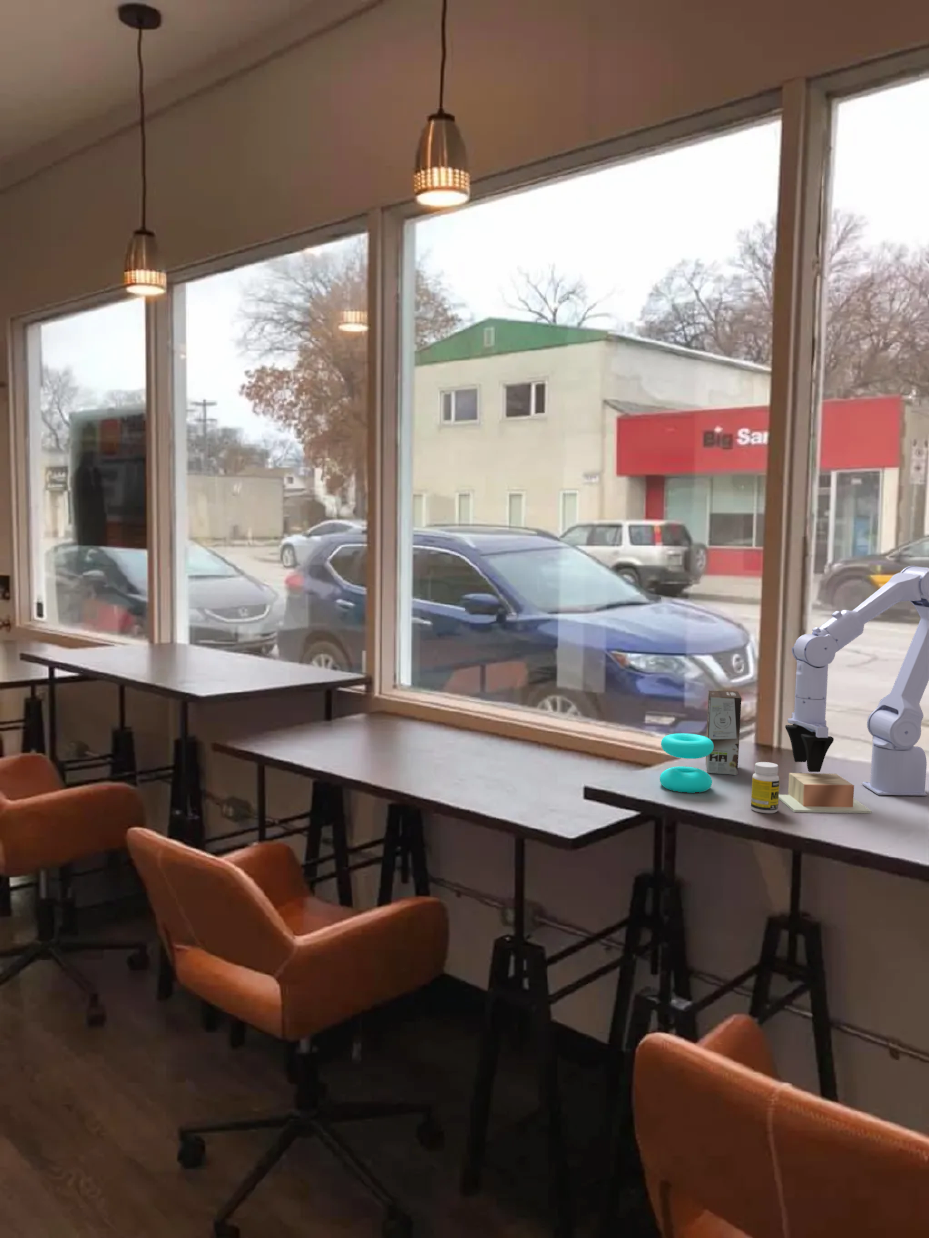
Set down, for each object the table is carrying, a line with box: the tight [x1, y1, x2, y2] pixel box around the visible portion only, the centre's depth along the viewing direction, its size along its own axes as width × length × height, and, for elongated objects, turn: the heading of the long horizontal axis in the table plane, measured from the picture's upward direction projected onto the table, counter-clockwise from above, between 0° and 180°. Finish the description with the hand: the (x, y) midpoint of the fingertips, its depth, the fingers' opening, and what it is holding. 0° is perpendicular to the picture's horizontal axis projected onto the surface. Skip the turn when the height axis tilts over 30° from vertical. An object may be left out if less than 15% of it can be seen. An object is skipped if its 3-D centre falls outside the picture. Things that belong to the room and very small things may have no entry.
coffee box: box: [705, 690, 742, 776], centre depth 208 cm, size 9×6×16 cm
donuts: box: [659, 732, 714, 794], centre depth 193 cm, size 10×10×10 cm
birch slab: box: [787, 772, 855, 807], centre depth 185 cm, size 9×4×8 cm
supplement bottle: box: [750, 761, 780, 814], centre depth 179 cm, size 5×5×8 cm
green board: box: [778, 794, 873, 814], centre depth 183 cm, size 14×10×1 cm
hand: (806, 766), depth 192 cm, fingers open, 7 cm apart
